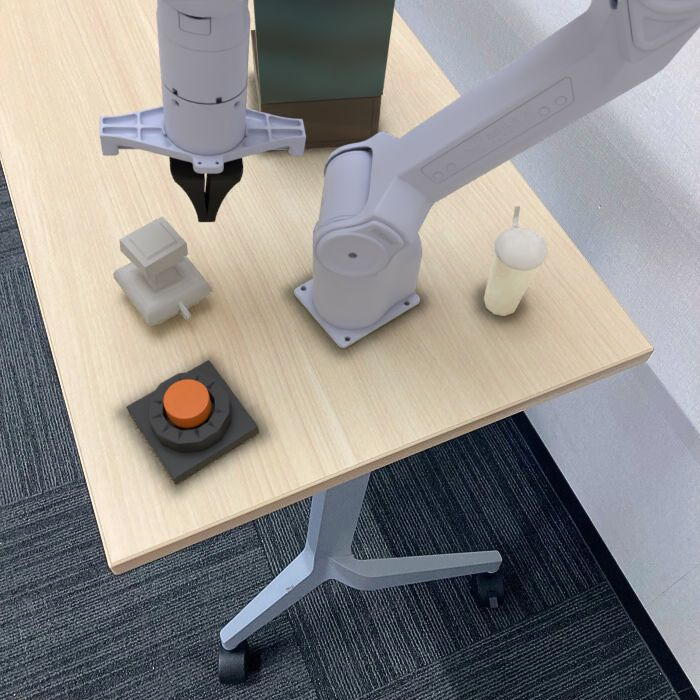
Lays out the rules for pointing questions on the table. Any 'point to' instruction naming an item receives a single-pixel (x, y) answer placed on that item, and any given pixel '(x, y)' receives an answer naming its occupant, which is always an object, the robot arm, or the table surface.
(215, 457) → the switch block
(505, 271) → the milkshake
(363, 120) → the box
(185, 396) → the button
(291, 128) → the robot arm
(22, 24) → the table surface
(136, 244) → the stamp
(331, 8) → the lid
